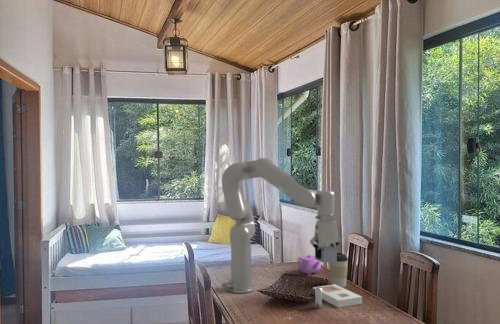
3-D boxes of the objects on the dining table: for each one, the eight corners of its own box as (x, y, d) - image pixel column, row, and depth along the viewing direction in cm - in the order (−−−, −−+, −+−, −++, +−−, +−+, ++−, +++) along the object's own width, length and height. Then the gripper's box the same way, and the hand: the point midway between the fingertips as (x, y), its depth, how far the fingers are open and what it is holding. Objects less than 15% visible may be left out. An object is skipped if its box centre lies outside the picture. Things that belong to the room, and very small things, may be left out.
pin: (317, 308, 181) (317, 289, 181) (314, 306, 184) (314, 287, 183) (323, 307, 182) (323, 288, 182) (319, 305, 185) (319, 286, 185)
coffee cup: (348, 288, 209) (348, 256, 209) (329, 287, 211) (328, 255, 211) (348, 282, 218) (347, 252, 218) (329, 281, 220) (329, 251, 219)
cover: (323, 262, 193) (323, 249, 193) (314, 259, 200) (315, 246, 200) (336, 261, 196) (336, 247, 196) (327, 257, 202) (327, 244, 202)
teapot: (305, 278, 225) (305, 259, 225) (289, 273, 236) (289, 255, 236) (331, 273, 235) (331, 255, 235) (314, 268, 246) (314, 251, 246)
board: (338, 307, 182) (338, 300, 182) (312, 294, 200) (312, 287, 200) (362, 303, 187) (362, 296, 187) (334, 290, 205) (334, 283, 205)
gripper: (313, 220, 191) (313, 261, 191) (346, 218, 198) (346, 257, 198) (304, 218, 197) (304, 257, 198) (337, 215, 205) (336, 254, 205)
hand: (325, 257), depth 198 cm, fingers closed on cover, 7 cm apart
